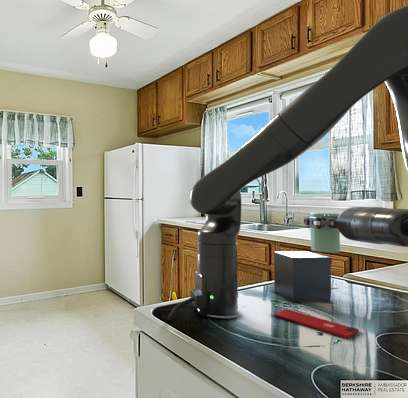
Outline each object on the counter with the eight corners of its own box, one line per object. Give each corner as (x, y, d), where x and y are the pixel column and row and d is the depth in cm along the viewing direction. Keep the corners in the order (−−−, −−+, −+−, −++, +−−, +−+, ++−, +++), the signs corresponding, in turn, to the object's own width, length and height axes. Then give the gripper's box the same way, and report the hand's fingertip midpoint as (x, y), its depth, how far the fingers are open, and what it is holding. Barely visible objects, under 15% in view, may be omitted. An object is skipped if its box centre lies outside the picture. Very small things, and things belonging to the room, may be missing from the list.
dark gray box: (293, 302, 86) (293, 257, 86) (274, 291, 96) (274, 251, 96) (337, 302, 86) (336, 257, 86) (313, 291, 96) (313, 251, 96)
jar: (321, 252, 78) (320, 213, 78) (306, 249, 84) (305, 212, 84) (345, 252, 78) (345, 213, 78) (328, 248, 84) (328, 212, 84)
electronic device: (273, 315, 76) (347, 338, 63) (273, 313, 76) (347, 335, 63) (286, 310, 79) (359, 331, 66) (286, 308, 79) (359, 329, 66)
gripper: (404, 206, 67) (345, 205, 84) (335, 207, 67) (290, 206, 84) (405, 242, 67) (346, 234, 84) (335, 243, 67) (290, 235, 84)
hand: (318, 220), depth 84 cm, fingers closed on jar, 6 cm apart
